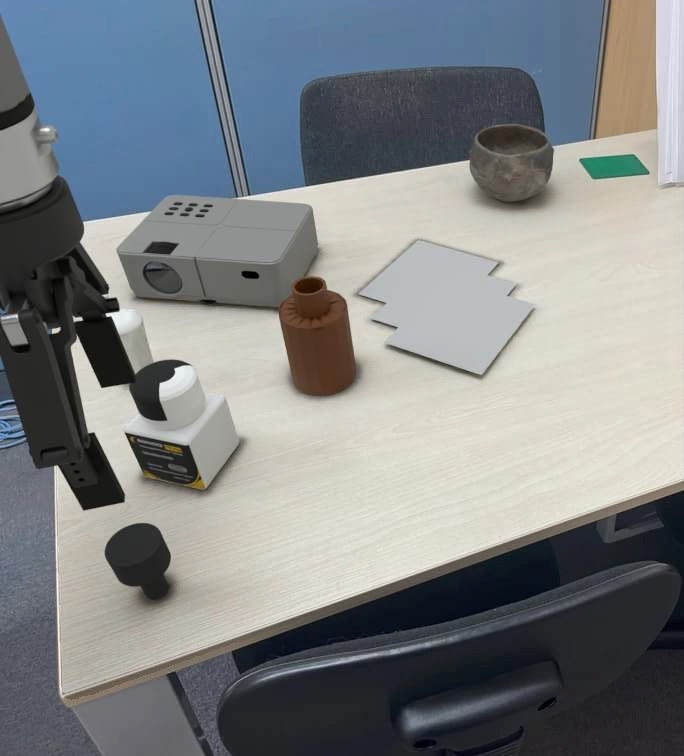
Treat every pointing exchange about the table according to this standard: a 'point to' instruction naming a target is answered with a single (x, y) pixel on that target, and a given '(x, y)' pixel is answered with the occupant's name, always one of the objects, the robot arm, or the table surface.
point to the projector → (220, 250)
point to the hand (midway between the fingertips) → (112, 437)
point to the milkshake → (133, 337)
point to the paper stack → (447, 306)
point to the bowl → (511, 161)
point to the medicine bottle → (179, 425)
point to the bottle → (317, 338)
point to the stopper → (140, 558)
